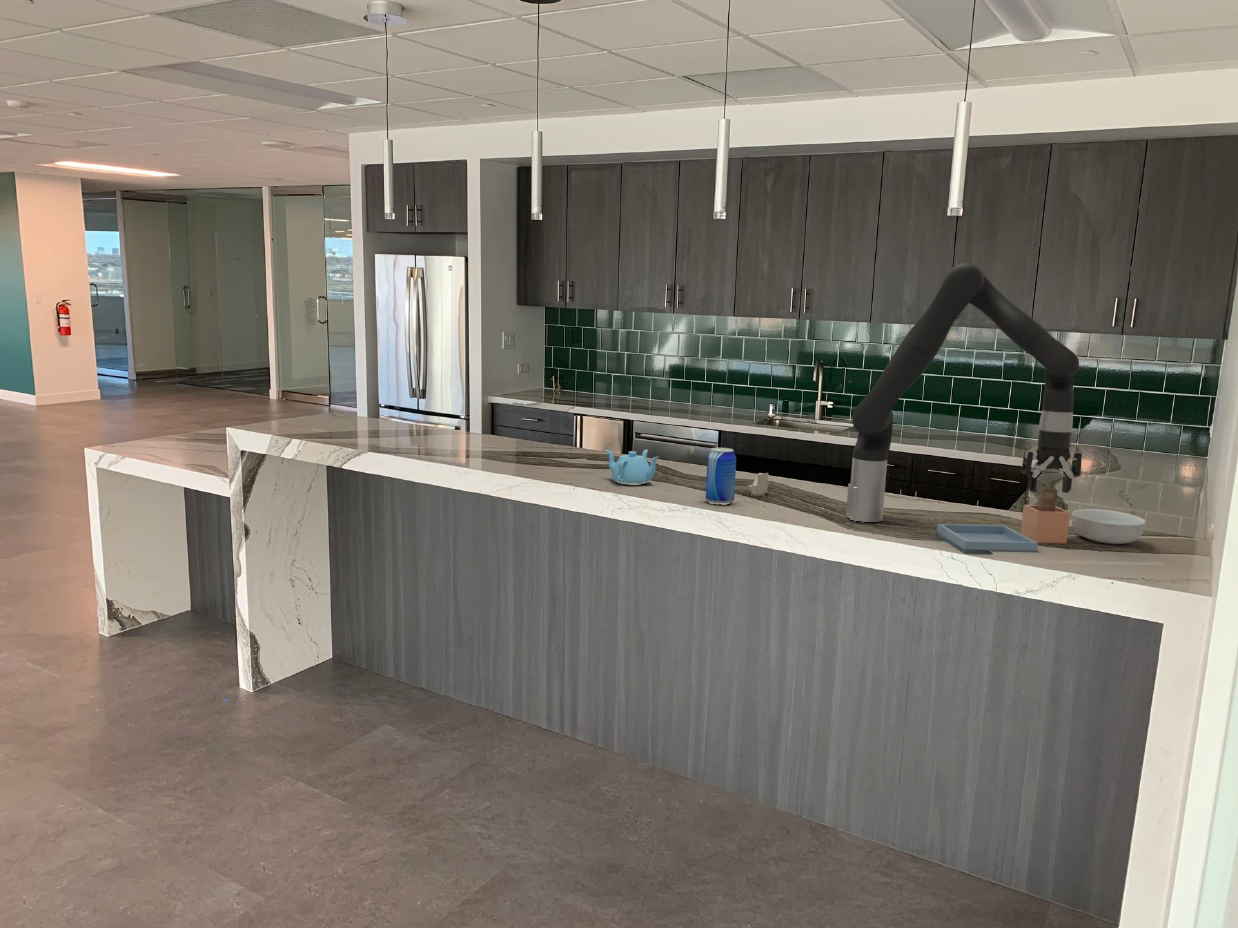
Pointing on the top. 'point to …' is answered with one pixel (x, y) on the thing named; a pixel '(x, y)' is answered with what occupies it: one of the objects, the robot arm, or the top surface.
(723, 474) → the beer can
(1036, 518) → the terracotta open box
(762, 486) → the architectural model
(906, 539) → the top surface
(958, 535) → the slate-blue tray
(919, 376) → the robot arm
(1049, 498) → the walnut peg
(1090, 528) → the cereal bowl
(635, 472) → the teapot
